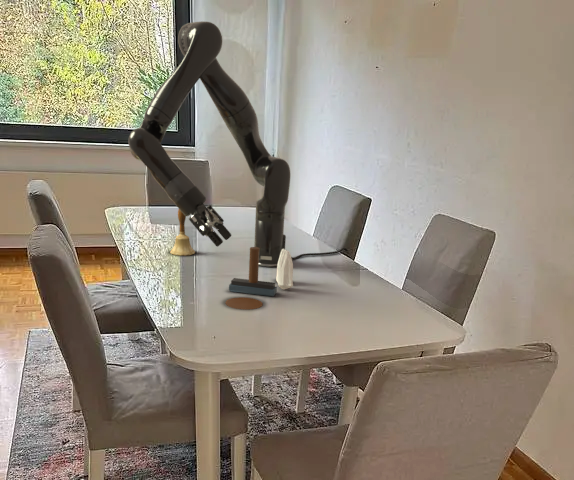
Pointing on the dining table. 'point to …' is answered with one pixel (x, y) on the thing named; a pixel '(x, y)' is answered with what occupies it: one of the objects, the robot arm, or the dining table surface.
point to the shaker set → (285, 270)
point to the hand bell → (182, 239)
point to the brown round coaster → (244, 303)
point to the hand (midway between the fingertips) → (224, 241)
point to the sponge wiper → (253, 279)
